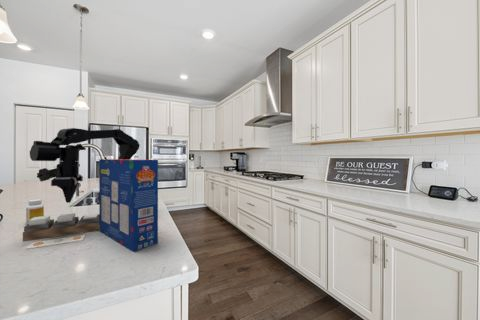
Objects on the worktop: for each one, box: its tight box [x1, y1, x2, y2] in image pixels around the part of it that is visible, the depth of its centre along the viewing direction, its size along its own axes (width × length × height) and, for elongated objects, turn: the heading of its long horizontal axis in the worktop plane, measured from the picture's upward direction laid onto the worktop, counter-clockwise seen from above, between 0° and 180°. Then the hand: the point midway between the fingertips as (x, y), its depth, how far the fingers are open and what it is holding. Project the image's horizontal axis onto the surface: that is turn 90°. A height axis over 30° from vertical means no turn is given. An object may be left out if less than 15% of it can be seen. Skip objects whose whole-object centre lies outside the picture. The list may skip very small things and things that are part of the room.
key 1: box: [29, 215, 51, 226], centre depth 73 cm, size 4×4×2 cm
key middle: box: [56, 212, 76, 223], centre depth 76 cm, size 4×4×2 cm
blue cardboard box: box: [98, 158, 159, 253], centre depth 72 cm, size 28×8×28 cm, turn 52°
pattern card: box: [25, 234, 86, 250], centre depth 68 cm, size 14×5×1 cm, turn 119°
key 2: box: [82, 213, 98, 220], centre depth 80 cm, size 4×4×2 cm
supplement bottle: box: [25, 198, 45, 225], centre depth 88 cm, size 5×5×10 cm
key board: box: [22, 213, 100, 242], centre depth 76 cm, size 22×7×5 cm, turn 119°
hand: (68, 202), depth 76 cm, fingers closed
